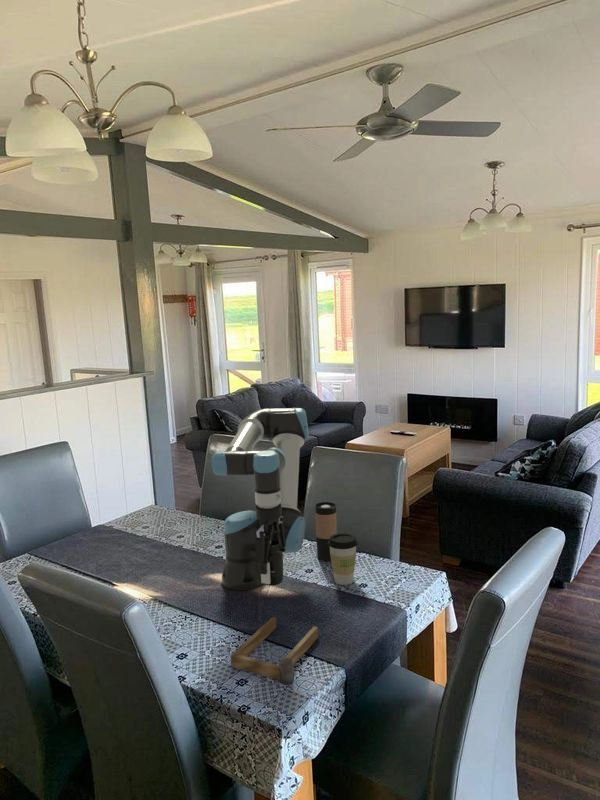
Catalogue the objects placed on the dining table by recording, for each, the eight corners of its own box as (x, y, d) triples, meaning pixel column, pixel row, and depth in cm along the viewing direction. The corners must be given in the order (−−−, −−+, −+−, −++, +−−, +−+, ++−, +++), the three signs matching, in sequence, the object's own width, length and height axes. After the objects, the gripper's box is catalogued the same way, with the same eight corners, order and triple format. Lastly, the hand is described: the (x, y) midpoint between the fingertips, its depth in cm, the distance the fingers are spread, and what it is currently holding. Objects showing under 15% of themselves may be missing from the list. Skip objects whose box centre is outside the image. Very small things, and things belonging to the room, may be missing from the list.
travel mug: (315, 554, 218) (313, 502, 215) (336, 552, 219) (334, 501, 216) (318, 562, 210) (316, 509, 208) (339, 561, 211) (337, 507, 208)
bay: (229, 668, 149) (228, 650, 148) (272, 626, 168) (272, 610, 167) (289, 685, 141) (288, 666, 140) (327, 639, 160) (327, 622, 159)
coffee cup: (356, 588, 190) (355, 544, 188) (327, 586, 192) (325, 542, 190) (360, 575, 199) (359, 532, 197) (331, 573, 201) (330, 531, 199)
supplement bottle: (266, 588, 171) (264, 549, 169) (257, 579, 177) (255, 541, 175) (287, 582, 174) (286, 544, 172) (278, 573, 180) (276, 536, 178)
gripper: (262, 517, 161) (266, 595, 165) (295, 495, 178) (298, 566, 182) (239, 513, 164) (243, 589, 168) (274, 492, 182) (277, 562, 185)
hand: (272, 577), depth 175 cm, fingers closed on supplement bottle, 7 cm apart
